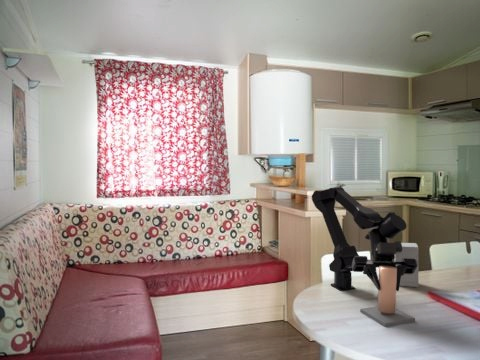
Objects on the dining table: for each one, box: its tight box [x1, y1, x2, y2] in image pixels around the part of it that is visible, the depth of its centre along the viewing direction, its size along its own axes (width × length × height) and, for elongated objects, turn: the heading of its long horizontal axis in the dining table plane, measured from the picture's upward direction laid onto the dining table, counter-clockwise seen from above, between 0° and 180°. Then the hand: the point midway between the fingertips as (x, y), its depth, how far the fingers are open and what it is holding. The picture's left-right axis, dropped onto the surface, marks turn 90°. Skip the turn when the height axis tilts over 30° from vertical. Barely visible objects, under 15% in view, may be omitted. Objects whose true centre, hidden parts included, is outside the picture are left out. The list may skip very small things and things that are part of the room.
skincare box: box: [393, 242, 420, 288], centre depth 142 cm, size 8×7×16 cm
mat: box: [359, 305, 416, 328], centre depth 112 cm, size 11×11×1 cm
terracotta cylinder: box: [377, 265, 397, 313], centre depth 112 cm, size 5×5×13 cm
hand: (388, 290), depth 111 cm, fingers closed on terracotta cylinder, 5 cm apart
